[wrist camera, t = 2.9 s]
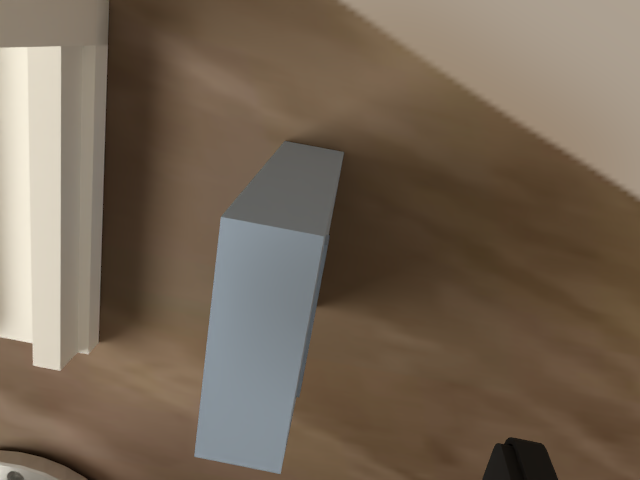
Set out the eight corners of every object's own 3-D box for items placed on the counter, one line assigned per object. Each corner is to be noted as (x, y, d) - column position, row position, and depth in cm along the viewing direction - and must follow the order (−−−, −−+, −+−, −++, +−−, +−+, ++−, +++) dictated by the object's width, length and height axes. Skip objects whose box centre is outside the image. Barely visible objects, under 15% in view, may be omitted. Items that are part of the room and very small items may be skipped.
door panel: (317, 307, 24) (284, 474, 15) (259, 296, 24) (190, 455, 15) (346, 152, 22) (328, 237, 13) (282, 140, 22) (216, 215, 13)
